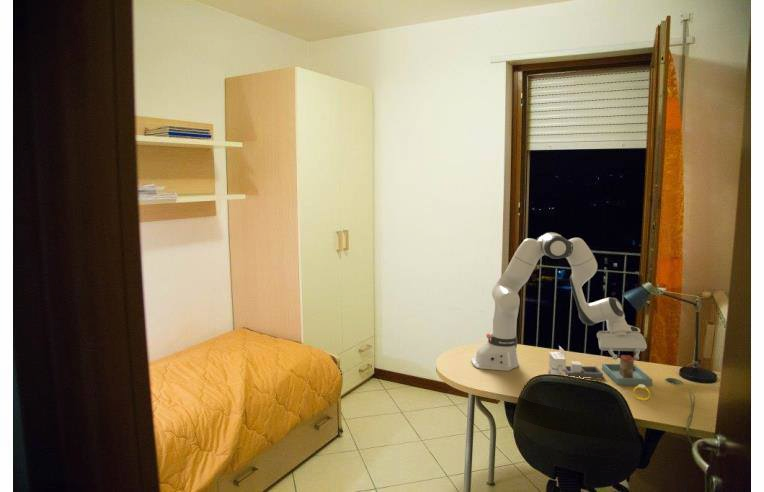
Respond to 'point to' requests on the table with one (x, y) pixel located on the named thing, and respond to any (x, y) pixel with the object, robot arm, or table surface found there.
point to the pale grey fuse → (576, 366)
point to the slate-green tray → (637, 379)
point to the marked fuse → (626, 366)
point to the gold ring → (641, 388)
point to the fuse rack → (583, 372)
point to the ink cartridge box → (557, 362)
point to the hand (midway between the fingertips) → (626, 359)
